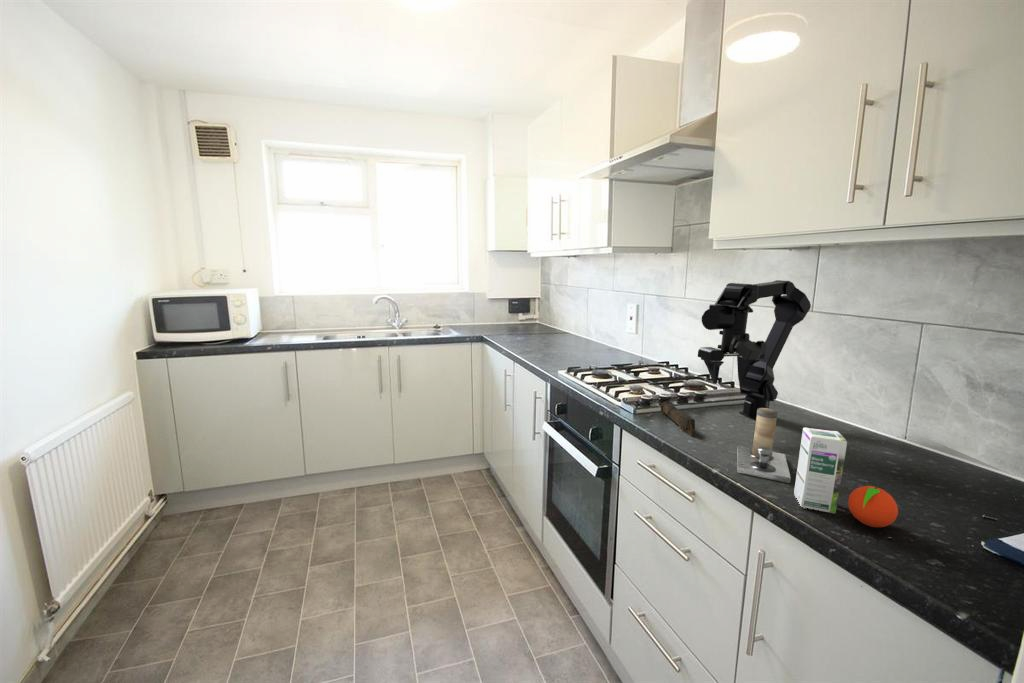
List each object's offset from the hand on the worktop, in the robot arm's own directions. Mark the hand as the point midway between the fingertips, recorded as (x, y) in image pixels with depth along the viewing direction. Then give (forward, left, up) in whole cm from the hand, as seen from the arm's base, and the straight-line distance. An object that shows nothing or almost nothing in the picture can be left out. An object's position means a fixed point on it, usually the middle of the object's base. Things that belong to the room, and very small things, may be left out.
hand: (727, 382), depth 127 cm
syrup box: (+16, +41, -12) cm, 45 cm away
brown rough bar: (+13, -2, -13) cm, 18 cm away
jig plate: (+12, +25, -12) cm, 30 cm away
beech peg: (+10, +23, -11) cm, 27 cm away
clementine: (+13, +49, -12) cm, 52 cm away
